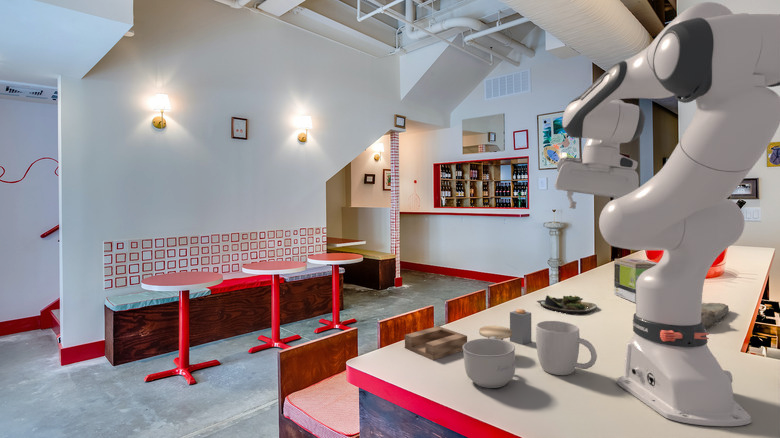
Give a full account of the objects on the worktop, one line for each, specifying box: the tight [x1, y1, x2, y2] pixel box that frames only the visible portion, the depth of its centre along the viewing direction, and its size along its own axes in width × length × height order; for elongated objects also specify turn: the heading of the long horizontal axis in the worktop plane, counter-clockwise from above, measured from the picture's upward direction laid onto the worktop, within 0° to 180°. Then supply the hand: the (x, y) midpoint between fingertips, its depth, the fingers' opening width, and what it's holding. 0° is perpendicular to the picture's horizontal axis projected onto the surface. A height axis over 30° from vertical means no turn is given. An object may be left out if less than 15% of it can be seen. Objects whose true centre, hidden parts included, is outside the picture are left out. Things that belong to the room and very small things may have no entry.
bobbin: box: [478, 325, 512, 340], centre depth 105 cm, size 8×8×6 cm
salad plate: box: [536, 294, 598, 315], centre depth 149 cm, size 19×18×5 cm
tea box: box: [613, 258, 658, 304], centre depth 159 cm, size 15×10×15 cm
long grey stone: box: [701, 302, 730, 330], centre depth 131 cm, size 35×5×10 cm
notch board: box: [404, 325, 468, 361], centre depth 109 cm, size 12×11×4 cm
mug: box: [535, 320, 598, 376], centre depth 93 cm, size 13×9×10 cm
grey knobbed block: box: [509, 308, 532, 346], centre depth 114 cm, size 4×4×9 cm
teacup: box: [462, 336, 516, 389], centre depth 90 cm, size 14×11×8 cm
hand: (590, 211), depth 112 cm, fingers open, 8 cm apart
